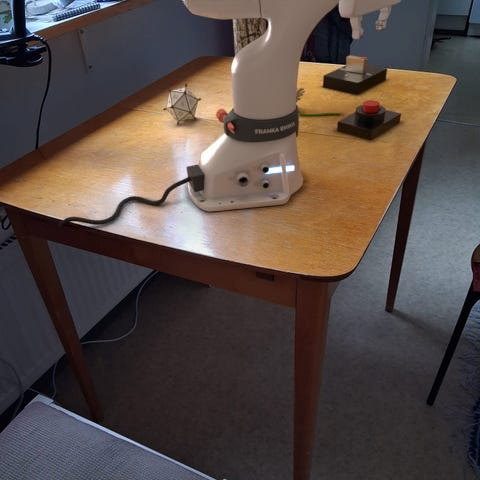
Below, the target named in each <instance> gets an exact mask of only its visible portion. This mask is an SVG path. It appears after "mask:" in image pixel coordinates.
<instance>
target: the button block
mask: <svg viewBox="0 0 480 480" xmlns="http://www.w3.org/2000/svg"><path fill="white" fill-rule="evenodd" d="M362 109H363V104H360V105H358V106H357V107H355V111H354V112H352V113H350V114H349V115H347V116H345V117H343V118H341V119H339V120H337V125H336V126H337V127H336V131H337V132H339V133H342V134H346V135H350V136H354V137H356V138H360V139H363V140H367V141H372V140H374V139H376V138H377V137H379V136H380V135H383V134H385V133H386V132H387V131H389V130H391V129H392V128H394V127H396V126H397V125H399V124H400V122H401V117H402V113H401V112H397V111H394V110H388V109H386V107H385V106H383V105H379V111H378V112H375V113H367V112H363V111H362Z"/></svg>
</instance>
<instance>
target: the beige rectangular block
mask: <svg viewBox="0 0 480 480" xmlns="http://www.w3.org/2000/svg"><path fill="white" fill-rule="evenodd" d="M367 65H368V57H366V56H356V55H350V54H349V55H347V56H346V59H345V66H346V71H350V72H355V73H359V74H364V73H366V67H367Z"/></svg>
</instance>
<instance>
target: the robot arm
mask: <svg viewBox="0 0 480 480" xmlns="http://www.w3.org/2000/svg"><path fill="white" fill-rule="evenodd" d="M181 1H182V3H183V4H184V6H185V7H186V8H187V10H188V11H189V12H190V13H191V14H192V15H196V16H199V17H204V18H210V19H215V20H233V19H243V18H264V19H266V21H267V28H266V32H265V33H264V34H263V35H262V36H261V37H259V38H258V39H256V40H254V41H253V42H251V43H249V44H248V45H246V46H245V47H244V48H242V49H241V50H240V51H239V52H238V53H237V54H236V56H235V55H234V58H233V59H232V63H231V66H230V73H231V74H230V76H231V90H232V91H231V92H232V105H233V107H232V108H231V110H230V111H229V112H227V111H226V109H224V108H219V109H218V110H217V111H216V114H215V117H216V119H217V120H218V122H219V123H221V124H223V132H222V133H221V134H220V135H219V136H218V137H217V138H215V140H214V141H213V142H212V143H211V144H209V146H208V147H206V148H205V149H204V150H203V151H202V152H201V154H200V155H199V158H198V163H197V164H194V165H187V166H185V167H186V175H187V177H185V178H182V179H180V180H179V181H176V182H174V183H173V184H171V185H170V186H168V187H167V188H166V189H165V191H164V193H163V194H162V196H161V198H159V199H158V200H151V199H148V198H145V197H143V196H140V195H139V196H138V195H135V196H134V195H132V196H128V197H125V198H124V199H122V200H121V201H120V202H119V203H118V205H117V206H116V208H115V210H114V213H112V215H111V216H109V217H107V218H104V219H90V218H86V217H82V216H81V217H80V216H68V217H65V218H64V219H62V220H61V221H60V223H58V225H57V227H58V228H63V227H65V225H67V224H68V223H71V222H77V223H83V224H87V225H93V226H95V225H96V226H101V225H102V226H103V225H107V224H110V223H111V222H113V221H115V220H116V219H117V218H118V217H119V215H120V214H121V212H122V209H123V207H124V206H125V205H126V204H127V203H130V202H134V201H135V202H136V201H137V202H141V203H144V204H146V205H150V206H160V205H162V204H163V203H165V201H166V200H167V198H168V196H169V194H170V193H171V192H172V191H173V190H175V189H177V188H178V187H181V186H182V185H186V184H187V192H188V195H189V198H190V199H191V201H192V202H193V204H194V205H195V206H197V208H199V209H201V210H203V211H205V212H219V211H221V212H222V211H230V210H239V209H241V210H242V209H249V208H259V207H261V208H262V207H269V206H280V205H284V204H287V203H288V202H289V200H290V198H291V196H292V195H294V194H295V193H296V192H297V191H298V190H300V188H301V187H302V186H303V184H304V177H303V174H302V170H301V166H300V159H299V153H298V139H297V138H298V136H299V130H300V129H299V128H300V114H299V113H298V111H299V106H298V104H297V103H296V94H297V88H298V77H299V70H300V61H301V57H302V54H303V50H304V49H305V46H306V43H307V41H308V39H309V37H310V35H311V34H312V33H313V31H314V29H315V28H316V26H317V25H318V24H319V23H320V22H321V20H322V19H323V18H324V17H325V16H326V15H327V14H328V13H329V12H331V11H332V10H333V9H334V8H335V7H336V6H338V12H339V14H340V17H341V18H345V19H349V22H350V26H351V30H352V34H351V37H352V39H353V40H359V39H361V38H363V36H364V28H362V24H361V22H362V21H363V16H364V15H368V14H370V13H373V12H376V11H380V13H379V15H378V19H377V20H376V21H375V30H376V31H383V30H385V29H386V27H387V21H388V19H389V16H390V15H391V11H392V6H393V5H397V4H400V3H401V2H402V0H181ZM96 360H97V362H98V365H99V367H100V370H101V371H104V370H105V368H106V367H105V366H104V364H103V359H102V358H101V356H98V357H96Z"/></svg>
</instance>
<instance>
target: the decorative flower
mask: <svg viewBox="0 0 480 480" xmlns="http://www.w3.org/2000/svg"><path fill="white" fill-rule="evenodd" d="M305 92H306V91H305V88H304V87H300V88H298V87H297V94H296V104H297V103H298V101H301V99H302V98H301V97H303V96H304V93H305ZM298 113H299V115H301V116H306V117H321V116H339V115H341V113H340V112H324V113H323V112H322V113H304V112H301V111H299V110H298Z"/></svg>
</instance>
